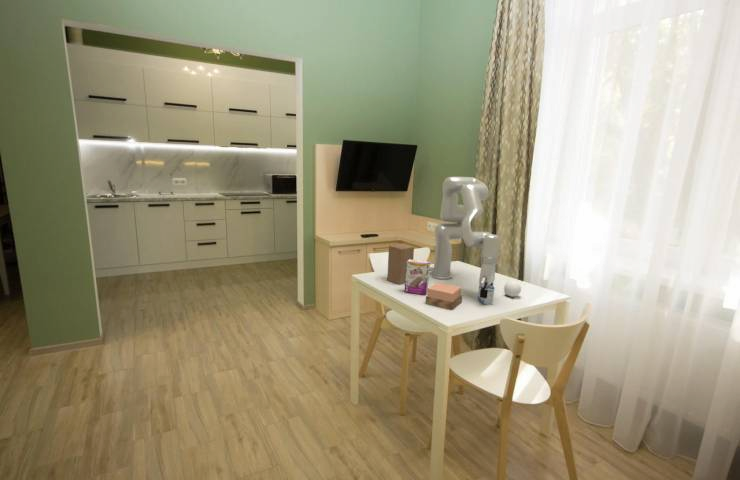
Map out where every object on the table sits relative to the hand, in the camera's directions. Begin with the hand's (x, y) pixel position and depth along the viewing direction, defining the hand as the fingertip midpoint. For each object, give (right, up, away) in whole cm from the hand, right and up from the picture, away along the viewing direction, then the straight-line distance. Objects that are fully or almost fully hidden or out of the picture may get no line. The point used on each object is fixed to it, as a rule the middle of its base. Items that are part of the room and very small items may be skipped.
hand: (486, 295), depth 182 cm
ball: (+16, -2, +10) cm, 19 cm away
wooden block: (-40, +3, +28) cm, 49 cm away
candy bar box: (-33, 0, +10) cm, 34 cm away
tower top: (-21, 0, -4) cm, 22 cm away
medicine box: (0, -4, +1) cm, 4 cm away
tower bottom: (-21, -4, -3) cm, 22 cm away
